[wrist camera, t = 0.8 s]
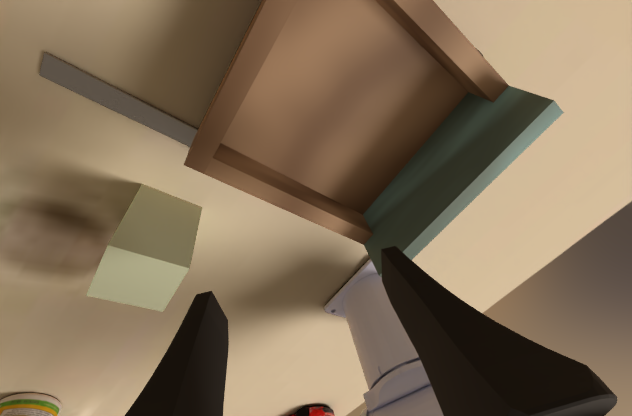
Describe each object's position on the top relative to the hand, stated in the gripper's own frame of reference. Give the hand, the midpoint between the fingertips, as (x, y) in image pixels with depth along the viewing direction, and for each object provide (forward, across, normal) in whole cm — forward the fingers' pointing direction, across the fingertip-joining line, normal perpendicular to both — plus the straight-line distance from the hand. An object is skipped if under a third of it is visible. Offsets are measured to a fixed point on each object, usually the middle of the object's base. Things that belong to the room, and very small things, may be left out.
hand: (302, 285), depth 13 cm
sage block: (+10, +9, +1) cm, 14 cm away
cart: (+10, -4, -4) cm, 12 cm away
